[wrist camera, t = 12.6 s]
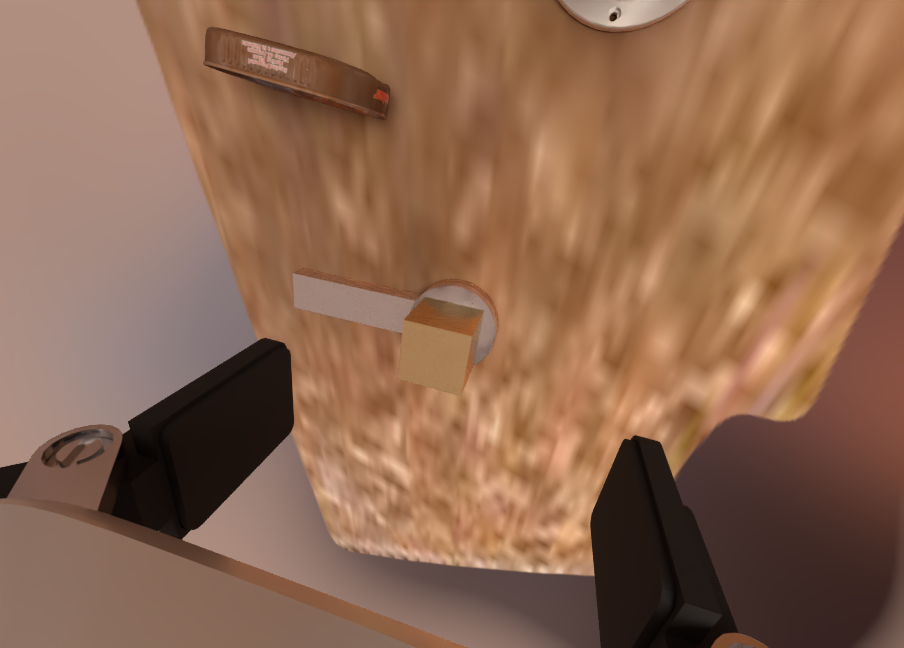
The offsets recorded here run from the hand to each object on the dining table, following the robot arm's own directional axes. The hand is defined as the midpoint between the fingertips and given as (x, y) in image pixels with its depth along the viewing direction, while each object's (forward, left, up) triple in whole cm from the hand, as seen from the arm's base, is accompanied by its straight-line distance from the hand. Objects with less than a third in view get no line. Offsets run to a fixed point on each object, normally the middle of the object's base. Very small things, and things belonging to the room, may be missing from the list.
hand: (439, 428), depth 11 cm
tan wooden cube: (+10, -5, -26) cm, 28 cm away
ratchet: (+10, -12, -28) cm, 32 cm away
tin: (-10, -20, -29) cm, 36 cm away
